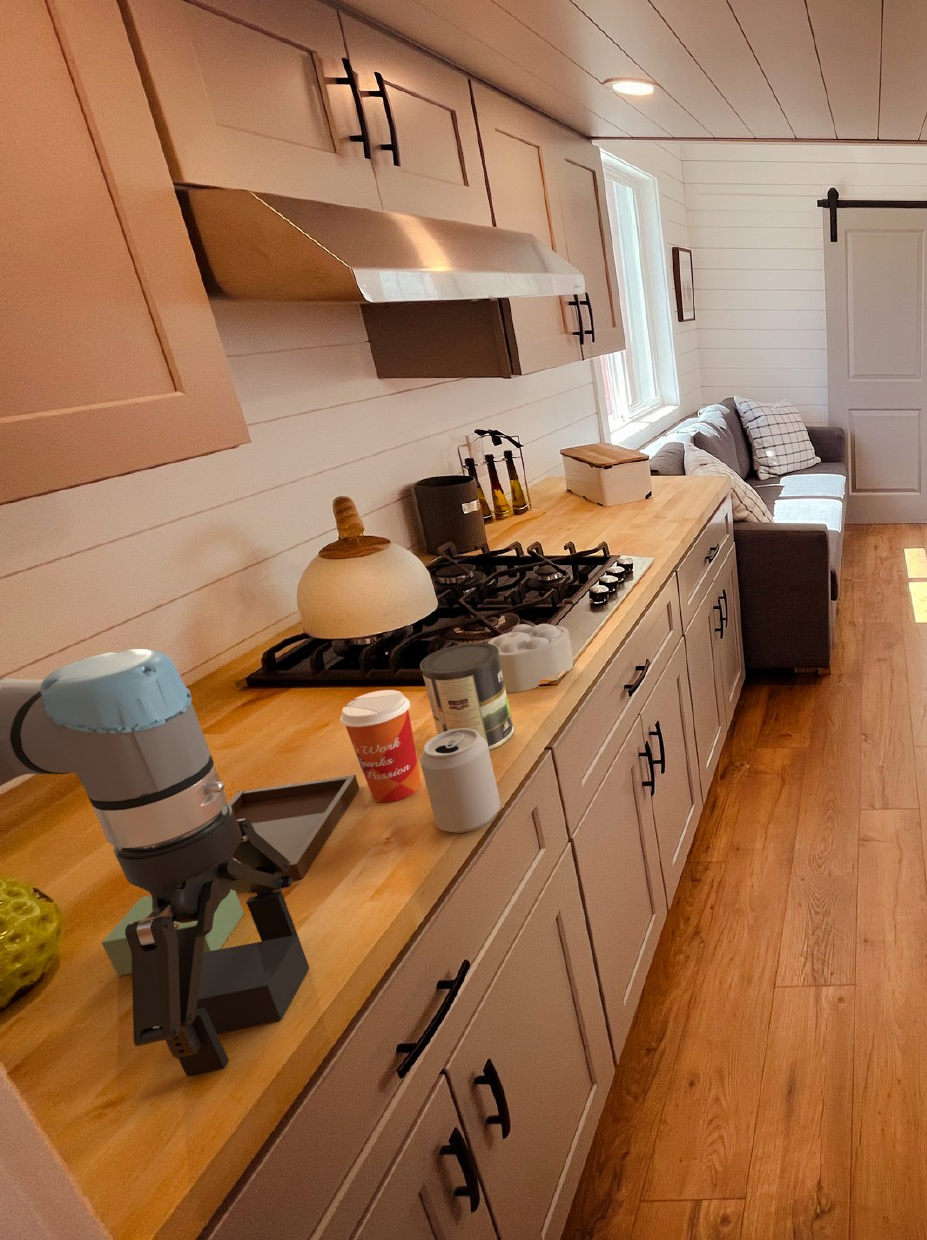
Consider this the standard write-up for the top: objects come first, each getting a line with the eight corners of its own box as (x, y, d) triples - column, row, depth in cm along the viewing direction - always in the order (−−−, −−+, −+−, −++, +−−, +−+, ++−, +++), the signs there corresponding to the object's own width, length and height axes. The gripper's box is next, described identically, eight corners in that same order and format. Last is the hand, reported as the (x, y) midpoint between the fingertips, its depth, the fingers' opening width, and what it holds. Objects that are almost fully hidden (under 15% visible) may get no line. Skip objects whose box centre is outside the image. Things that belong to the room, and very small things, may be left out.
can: (423, 834, 92) (401, 754, 88) (463, 797, 99) (445, 721, 95) (476, 840, 91) (458, 760, 87) (513, 802, 98) (497, 726, 94)
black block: (178, 1042, 66) (161, 1007, 64) (215, 986, 71) (200, 952, 70) (281, 1020, 68) (267, 985, 67) (309, 967, 74) (297, 934, 72)
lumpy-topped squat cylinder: (489, 675, 131) (480, 632, 128) (561, 653, 140) (555, 612, 137) (509, 696, 124) (500, 651, 121) (584, 672, 133) (577, 629, 130)
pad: (117, 976, 72) (100, 942, 71) (155, 929, 78) (141, 897, 76) (213, 958, 74) (199, 925, 73) (244, 913, 80) (232, 882, 78)
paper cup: (350, 808, 96) (323, 718, 92) (386, 773, 104) (362, 688, 99) (410, 807, 97) (386, 717, 92) (441, 772, 104) (420, 687, 99)
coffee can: (503, 712, 119) (487, 635, 114) (523, 739, 112) (507, 658, 107) (432, 736, 113) (412, 655, 108) (448, 765, 106) (428, 680, 101)
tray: (160, 903, 81) (153, 888, 80) (243, 805, 97) (237, 791, 96) (302, 879, 85) (296, 864, 84) (359, 788, 100) (355, 774, 100)
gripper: (129, 925, 52) (223, 1122, 59) (291, 738, 74) (345, 897, 82) (-5, 949, 50) (110, 1149, 57) (204, 749, 73) (267, 912, 80)
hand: (248, 1001), depth 70 cm, fingers open, 13 cm apart
